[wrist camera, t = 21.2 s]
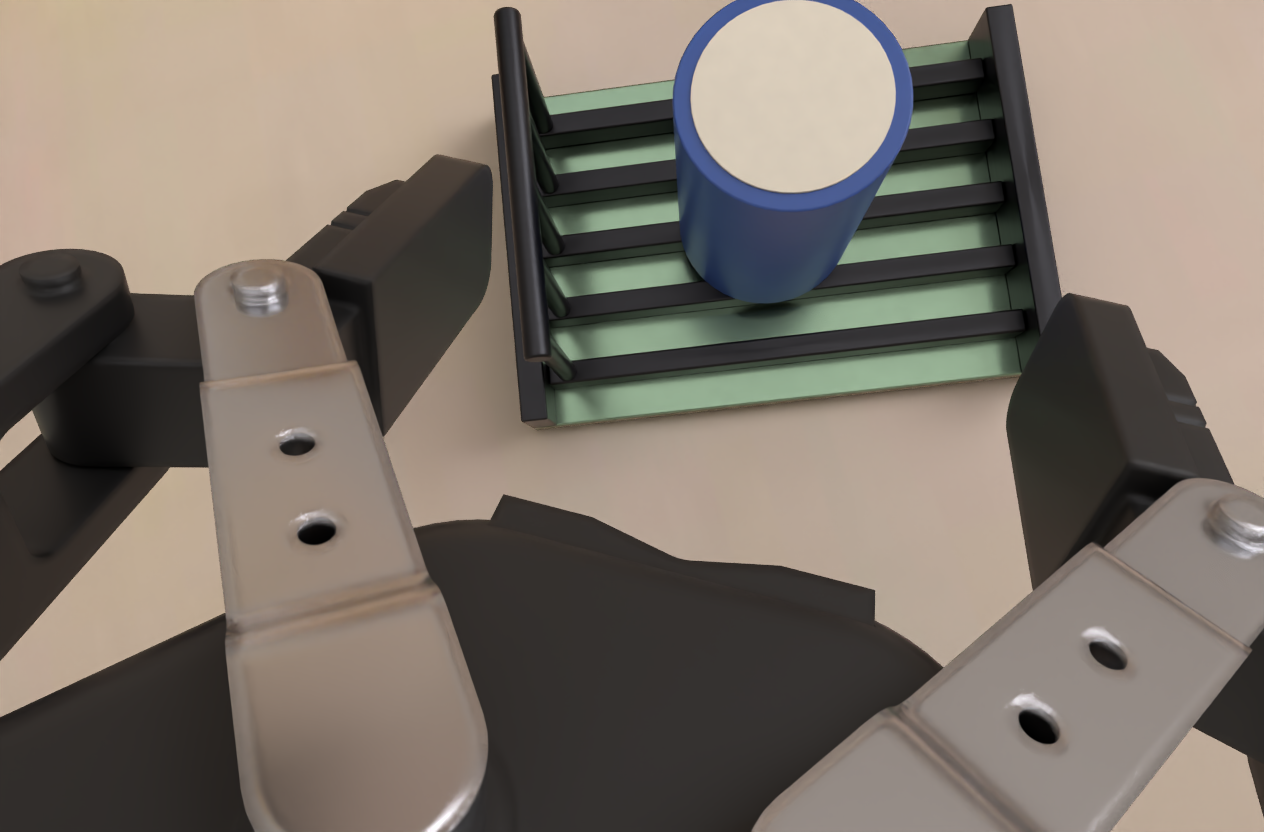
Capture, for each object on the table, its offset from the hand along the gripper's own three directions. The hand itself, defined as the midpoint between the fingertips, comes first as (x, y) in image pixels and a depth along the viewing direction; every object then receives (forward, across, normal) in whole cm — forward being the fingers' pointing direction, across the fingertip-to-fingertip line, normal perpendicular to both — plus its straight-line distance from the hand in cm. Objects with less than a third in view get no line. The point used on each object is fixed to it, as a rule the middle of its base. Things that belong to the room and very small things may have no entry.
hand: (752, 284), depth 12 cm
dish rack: (+15, 0, +7) cm, 17 cm away
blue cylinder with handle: (+16, 0, +4) cm, 16 cm away
